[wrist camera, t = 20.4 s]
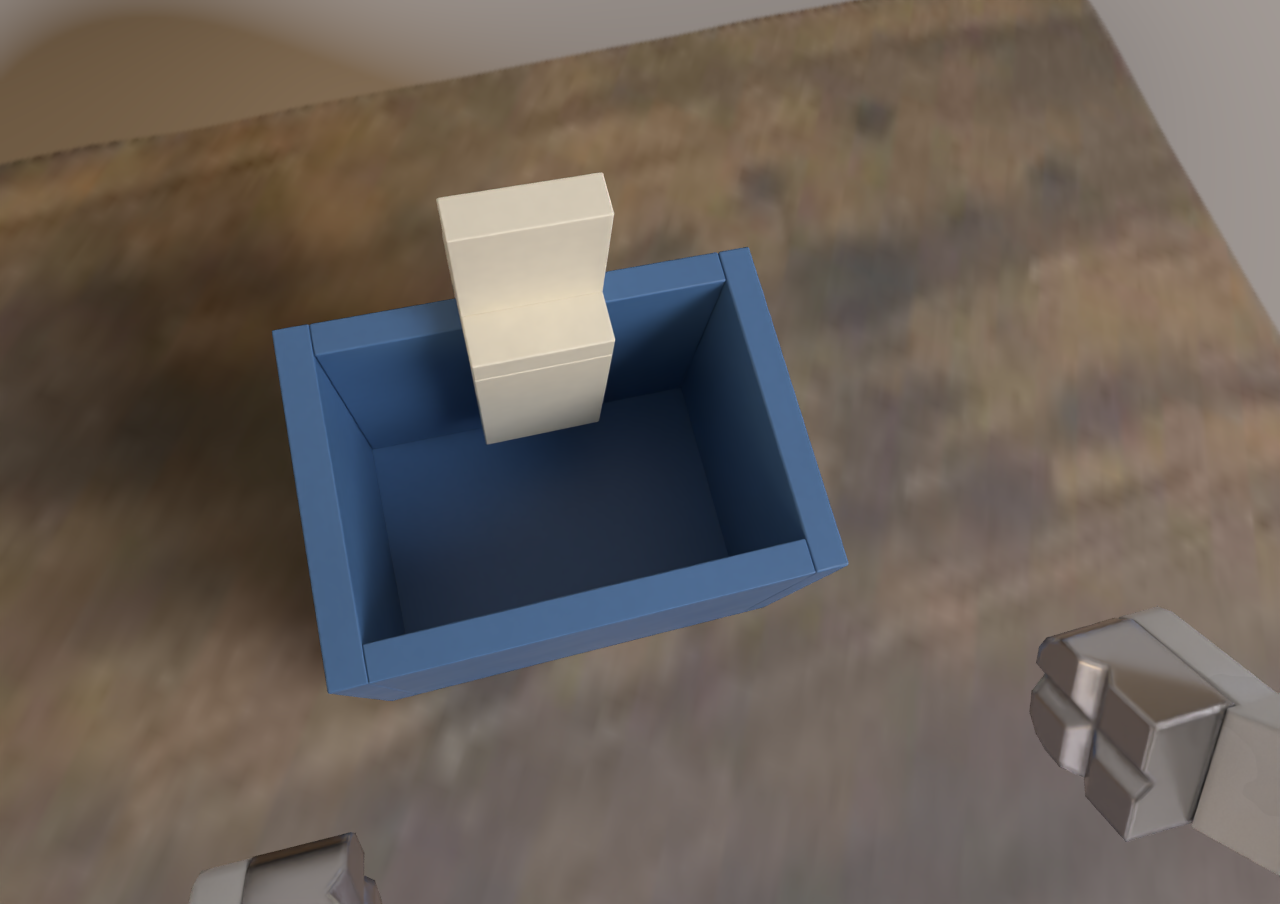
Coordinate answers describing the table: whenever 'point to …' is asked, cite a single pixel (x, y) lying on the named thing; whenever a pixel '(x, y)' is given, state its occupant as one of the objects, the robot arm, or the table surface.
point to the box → (548, 486)
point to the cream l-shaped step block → (533, 301)
